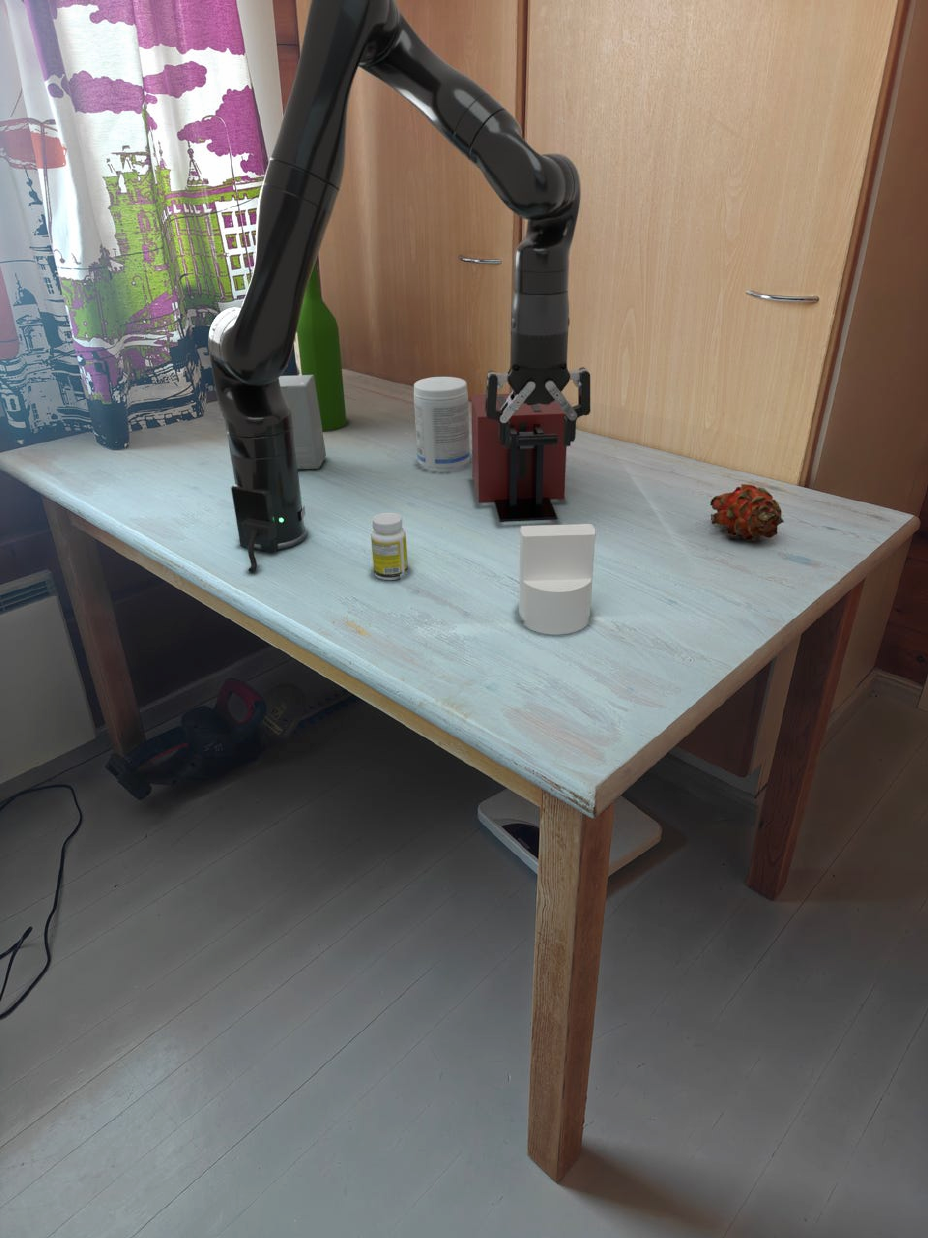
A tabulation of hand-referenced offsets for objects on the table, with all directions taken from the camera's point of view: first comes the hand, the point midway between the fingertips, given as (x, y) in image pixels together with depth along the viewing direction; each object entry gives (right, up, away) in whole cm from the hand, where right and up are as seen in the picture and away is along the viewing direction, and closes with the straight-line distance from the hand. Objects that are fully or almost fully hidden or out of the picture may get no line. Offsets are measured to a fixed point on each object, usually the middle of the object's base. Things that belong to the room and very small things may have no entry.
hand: (536, 445), depth 123 cm
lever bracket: (-1, -7, +17) cm, 19 cm away
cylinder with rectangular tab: (+1, -24, -11) cm, 27 cm away
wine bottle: (-39, +16, +58) cm, 72 cm away
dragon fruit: (+31, -12, +8) cm, 35 cm away
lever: (0, +1, +6) cm, 6 cm away
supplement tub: (-14, +4, +37) cm, 40 cm away
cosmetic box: (-40, +4, +38) cm, 55 cm away
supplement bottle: (-20, -18, 0) cm, 27 cm away
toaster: (-1, -3, +25) cm, 25 cm away
